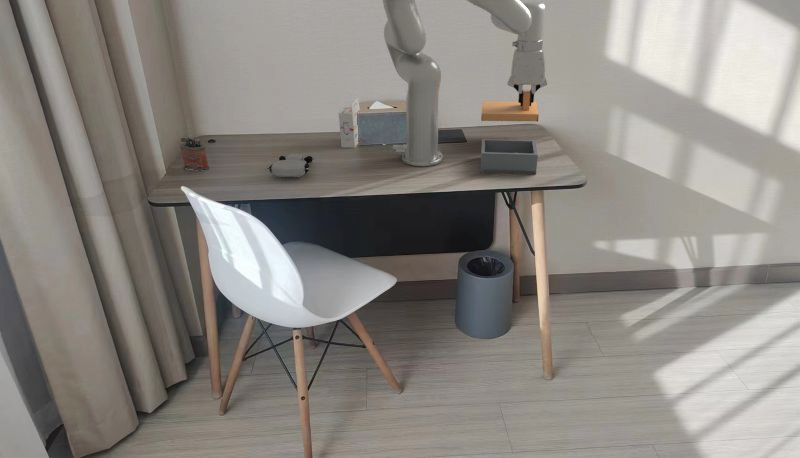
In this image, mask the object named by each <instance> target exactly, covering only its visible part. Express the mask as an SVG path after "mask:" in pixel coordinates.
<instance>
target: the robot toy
mask: <svg viewBox="0 0 800 458" xmlns="http://www.w3.org/2000/svg"><path fill="white" fill-rule="evenodd" d="M315 158H316V157H315V156H313V155H307V156H306V157H304V156H303V154H300V153H290V154H288V155H286V156H284V155H280V156H278V160H276V161H274V162H273V163H272V164H271V165H269V166H268V167H265V170H266V171H267V170H269V172H270V173H271V174H272V176H275V177H278V178H281V177H283V178H291V177H292V178H293V177H294V178H296V177H299V178H301V177H303V176H305V175H306V174H308V172H309V171H310V170H311V167H310V163H312V162H313V160H316V159H315Z"/></svg>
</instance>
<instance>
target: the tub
mask: <svg viewBox="0 0 800 458" xmlns="http://www.w3.org/2000/svg"><path fill="white" fill-rule="evenodd" d="M480 151H481V153H480V173H486V174H512V175H513V174H517V175H519V174H520V175H537V167H538V155H539V154H538V148H537V142H536V140H535V139H534V140H533V139H503V138H502V139H500V138H498V139H497V138H496V139H495V138H482V139H481V150H480Z"/></svg>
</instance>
